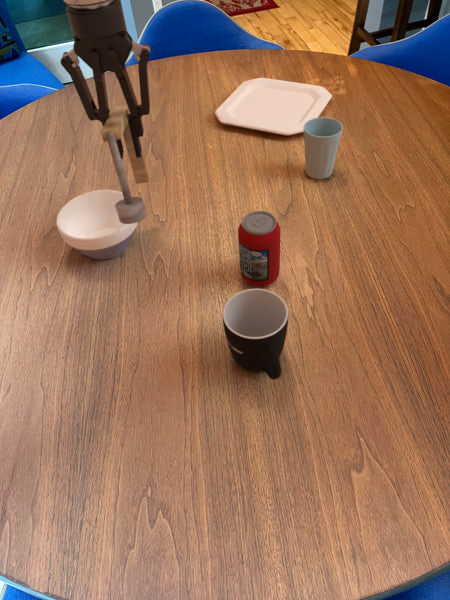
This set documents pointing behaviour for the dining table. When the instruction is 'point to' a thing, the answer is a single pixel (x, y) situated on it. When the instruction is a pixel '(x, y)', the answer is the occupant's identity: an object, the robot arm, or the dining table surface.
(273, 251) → the beverage can
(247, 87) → the plate
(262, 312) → the mug
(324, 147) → the cup
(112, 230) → the bowl
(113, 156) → the ladle
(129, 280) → the dining table surface
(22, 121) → the dining table surface
